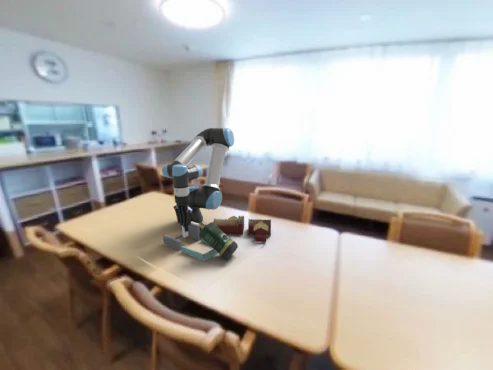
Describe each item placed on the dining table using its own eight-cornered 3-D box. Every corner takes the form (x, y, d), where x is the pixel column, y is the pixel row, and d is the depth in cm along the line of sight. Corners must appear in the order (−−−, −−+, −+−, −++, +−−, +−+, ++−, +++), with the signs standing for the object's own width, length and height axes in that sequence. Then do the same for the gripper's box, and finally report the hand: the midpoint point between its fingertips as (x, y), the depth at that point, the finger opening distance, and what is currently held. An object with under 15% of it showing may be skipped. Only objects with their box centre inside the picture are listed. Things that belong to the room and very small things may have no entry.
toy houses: (270, 227, 149) (270, 212, 147) (271, 243, 129) (271, 225, 127) (200, 225, 153) (199, 211, 150) (190, 240, 133) (189, 223, 130)
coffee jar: (195, 237, 114) (224, 263, 110) (203, 225, 111) (232, 251, 107) (206, 230, 123) (233, 254, 119) (213, 219, 120) (241, 243, 116)
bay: (184, 234, 140) (183, 218, 137) (200, 240, 132) (199, 223, 130) (163, 244, 128) (162, 227, 126) (179, 250, 121) (178, 233, 119)
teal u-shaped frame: (202, 240, 132) (202, 235, 131) (224, 248, 123) (223, 243, 122) (181, 251, 120) (181, 246, 119) (204, 261, 111) (203, 255, 110)
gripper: (167, 194, 123) (172, 236, 129) (184, 198, 116) (188, 242, 122) (179, 191, 129) (182, 230, 135) (196, 194, 122) (199, 236, 128)
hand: (185, 236), depth 128 cm, fingers closed
